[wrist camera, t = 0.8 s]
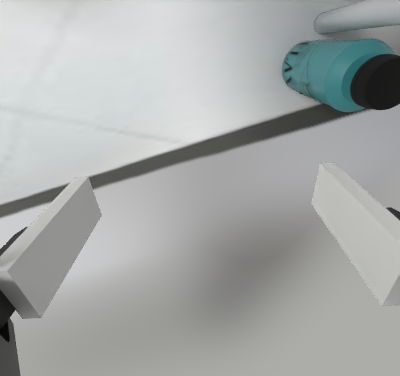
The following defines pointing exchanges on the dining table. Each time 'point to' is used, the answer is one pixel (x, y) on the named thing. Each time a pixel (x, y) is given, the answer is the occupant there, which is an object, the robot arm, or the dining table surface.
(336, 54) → the beverage bottle
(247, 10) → the dining table surface
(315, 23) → the cord rack
